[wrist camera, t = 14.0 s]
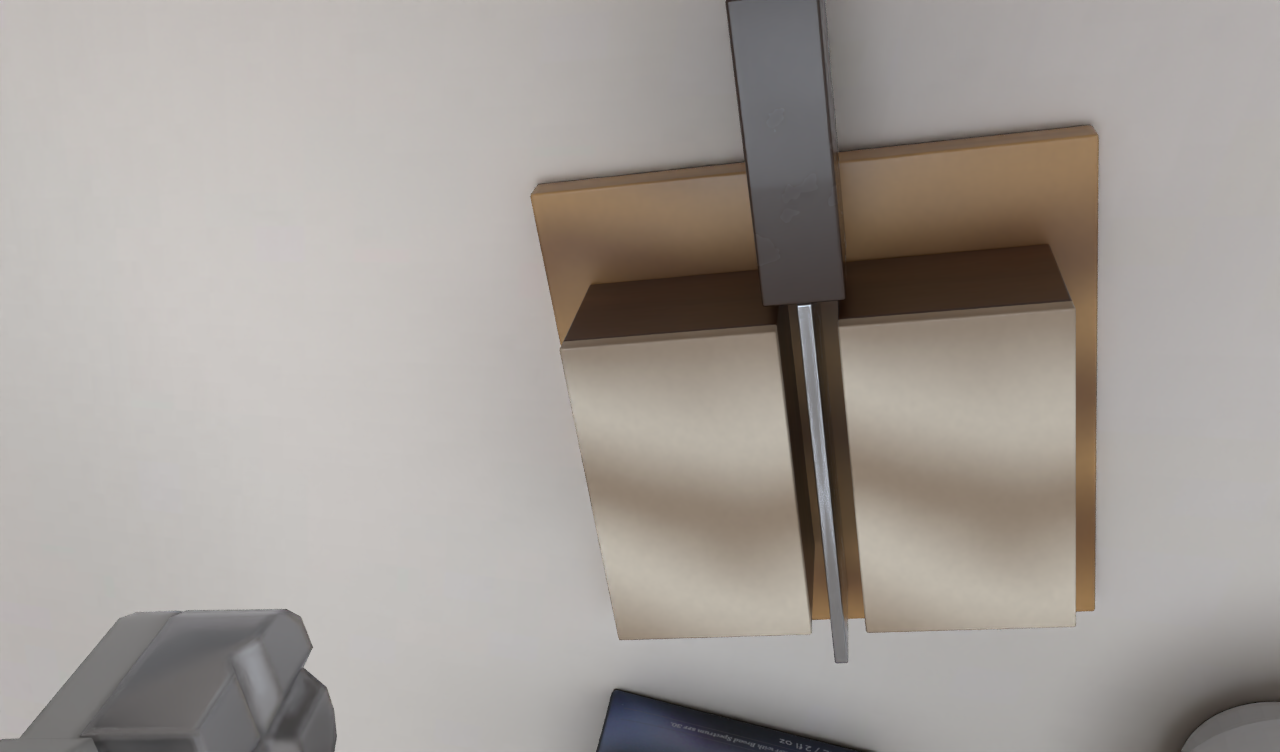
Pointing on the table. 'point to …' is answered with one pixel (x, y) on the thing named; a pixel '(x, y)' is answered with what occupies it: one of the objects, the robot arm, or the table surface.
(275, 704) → the robot arm
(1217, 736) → the teacup
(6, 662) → the table surface
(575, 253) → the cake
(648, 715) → the small box
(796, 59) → the cake knife
